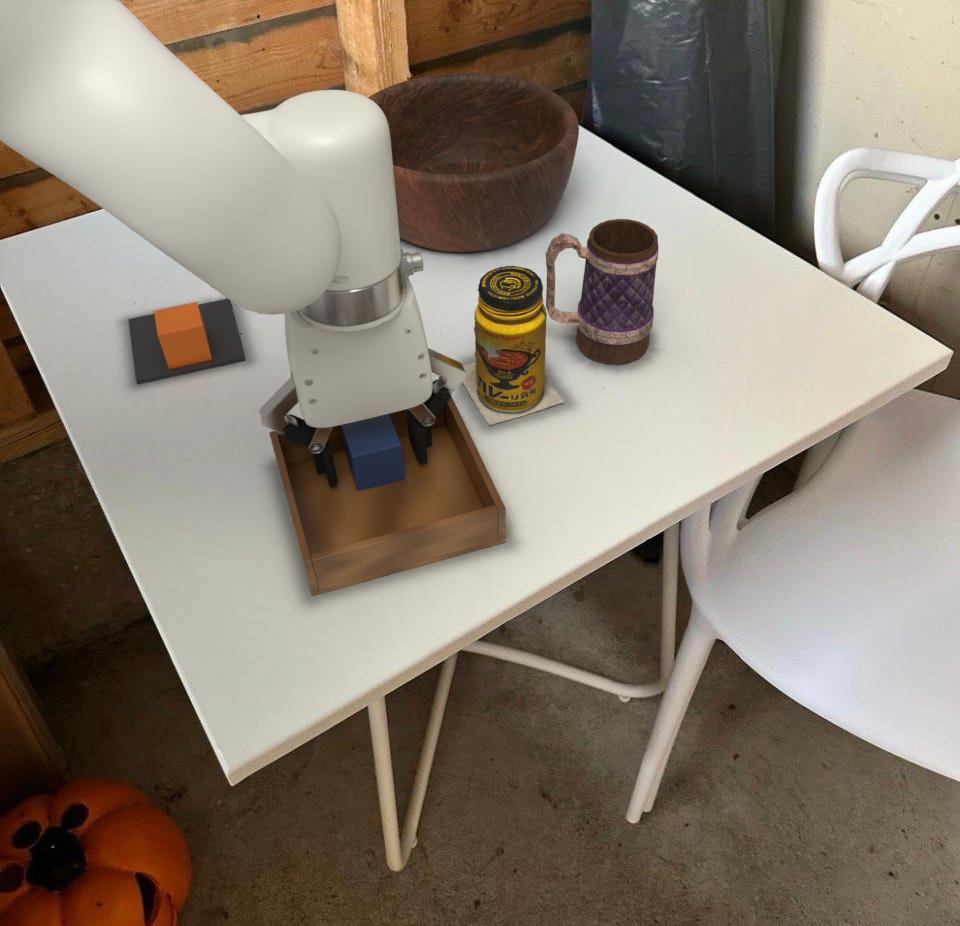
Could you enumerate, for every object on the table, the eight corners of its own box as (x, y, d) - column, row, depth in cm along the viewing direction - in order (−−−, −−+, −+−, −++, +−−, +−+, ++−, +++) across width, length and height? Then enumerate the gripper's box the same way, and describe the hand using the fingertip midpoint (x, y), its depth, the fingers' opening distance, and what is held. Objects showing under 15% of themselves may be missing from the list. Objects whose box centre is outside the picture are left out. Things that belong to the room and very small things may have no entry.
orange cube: (169, 369, 86) (157, 335, 83) (164, 344, 89) (153, 310, 86) (212, 360, 87) (202, 325, 84) (207, 335, 90) (197, 301, 87)
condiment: (489, 427, 80) (487, 315, 72) (453, 369, 86) (447, 259, 77) (564, 404, 82) (571, 292, 74) (524, 349, 88) (527, 239, 79)
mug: (644, 319, 91) (658, 210, 82) (654, 366, 86) (671, 254, 77) (540, 321, 91) (543, 212, 82) (544, 368, 86) (548, 257, 77)
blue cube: (357, 491, 75) (351, 457, 72) (346, 458, 77) (340, 423, 75) (405, 479, 76) (401, 444, 73) (392, 447, 78) (388, 412, 75)
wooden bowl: (581, 160, 113) (587, 76, 106) (563, 277, 96) (569, 186, 89) (382, 148, 116) (374, 66, 109) (330, 260, 99) (316, 171, 91)
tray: (311, 596, 68) (303, 562, 65) (277, 466, 78) (269, 431, 75) (505, 542, 71) (505, 508, 69) (450, 423, 81) (448, 389, 78)
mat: (137, 384, 85) (135, 380, 85) (129, 321, 92) (128, 318, 92) (245, 360, 87) (244, 357, 87) (230, 301, 94) (229, 297, 94)
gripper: (453, 230, 68) (461, 410, 80) (213, 278, 64) (262, 458, 77) (486, 286, 63) (489, 468, 75) (229, 342, 59) (278, 523, 72)
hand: (374, 462), depth 76 cm, fingers open, 6 cm apart
